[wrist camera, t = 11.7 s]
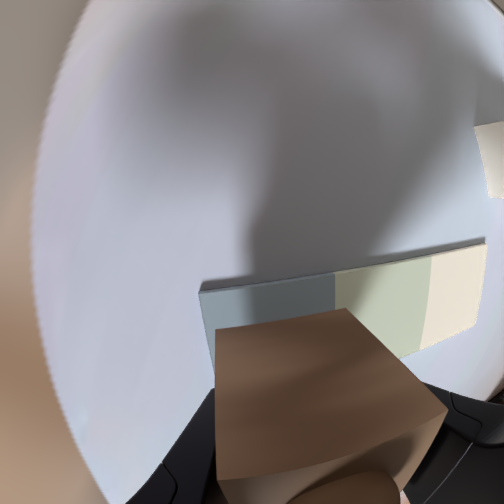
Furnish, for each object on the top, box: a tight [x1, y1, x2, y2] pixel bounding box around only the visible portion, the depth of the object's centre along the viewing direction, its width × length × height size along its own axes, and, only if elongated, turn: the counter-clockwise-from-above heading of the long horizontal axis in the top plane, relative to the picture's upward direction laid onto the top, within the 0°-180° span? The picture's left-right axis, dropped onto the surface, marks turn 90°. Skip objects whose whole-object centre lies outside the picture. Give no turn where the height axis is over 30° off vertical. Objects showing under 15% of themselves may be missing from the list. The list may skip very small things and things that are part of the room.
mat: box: [198, 243, 487, 374], centre depth 11 cm, size 15×5×1 cm, turn 96°
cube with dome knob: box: [215, 308, 448, 504], centre depth 5 cm, size 4×4×6 cm
